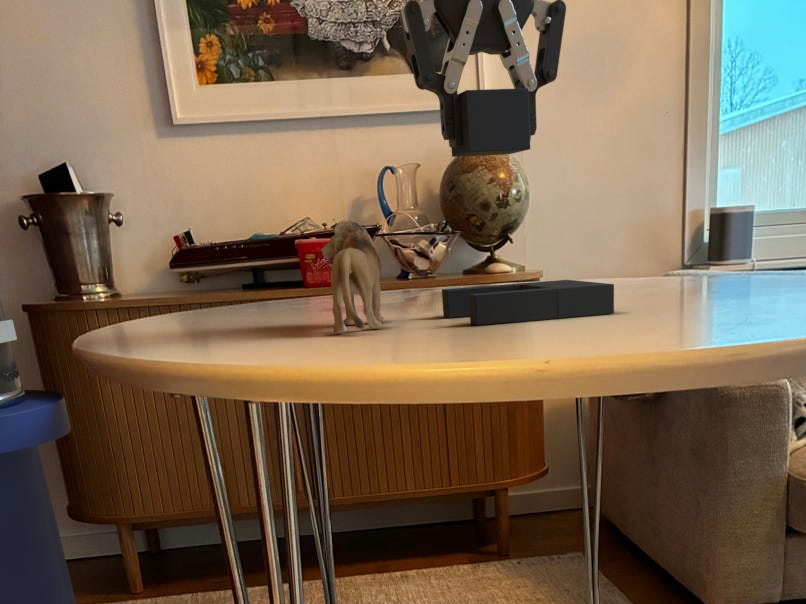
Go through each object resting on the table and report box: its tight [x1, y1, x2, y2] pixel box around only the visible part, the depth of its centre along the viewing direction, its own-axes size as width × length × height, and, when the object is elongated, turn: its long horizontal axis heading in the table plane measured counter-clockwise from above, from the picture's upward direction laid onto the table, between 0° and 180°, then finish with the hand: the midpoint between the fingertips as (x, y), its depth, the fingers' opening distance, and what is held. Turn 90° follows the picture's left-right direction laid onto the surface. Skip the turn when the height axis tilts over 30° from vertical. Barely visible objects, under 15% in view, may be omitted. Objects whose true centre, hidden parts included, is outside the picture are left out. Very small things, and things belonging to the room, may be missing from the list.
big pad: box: [441, 279, 615, 326], centre depth 89 cm, size 13×11×2 cm
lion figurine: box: [320, 219, 385, 334], centre depth 86 cm, size 15×5×9 cm, turn 10°
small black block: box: [451, 88, 531, 158], centre depth 81 cm, size 5×5×4 cm
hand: (489, 144), depth 82 cm, fingers closed on small black block, 5 cm apart
